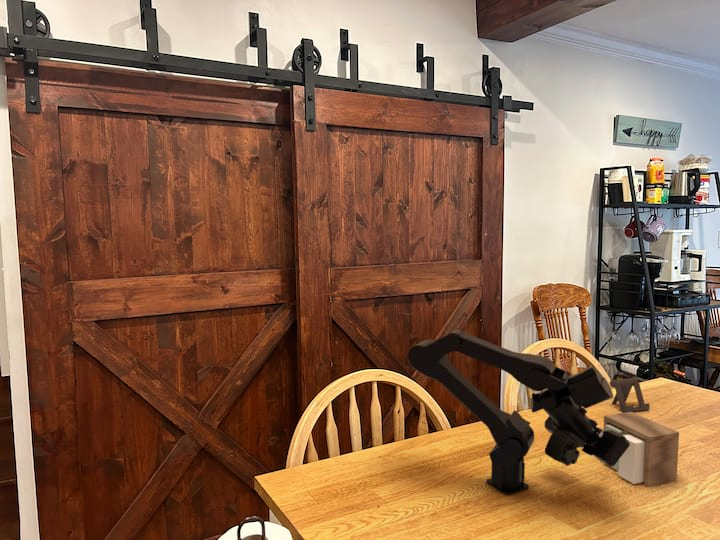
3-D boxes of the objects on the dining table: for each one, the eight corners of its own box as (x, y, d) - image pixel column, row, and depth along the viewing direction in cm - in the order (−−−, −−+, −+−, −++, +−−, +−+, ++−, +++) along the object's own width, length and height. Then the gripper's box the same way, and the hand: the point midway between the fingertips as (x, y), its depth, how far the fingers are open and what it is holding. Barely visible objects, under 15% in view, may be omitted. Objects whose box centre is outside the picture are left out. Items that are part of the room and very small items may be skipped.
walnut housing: (644, 487, 112) (646, 437, 111) (599, 461, 124) (600, 416, 123) (676, 480, 115) (679, 432, 114) (629, 455, 127) (631, 411, 126)
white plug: (633, 484, 113) (635, 443, 112) (618, 475, 117) (619, 435, 116) (676, 475, 116) (678, 436, 116) (660, 467, 120) (662, 428, 120)
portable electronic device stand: (624, 414, 154) (625, 386, 154) (605, 405, 162) (606, 378, 161) (649, 411, 157) (650, 383, 156) (629, 402, 164) (631, 376, 163)
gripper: (512, 425, 115) (551, 467, 120) (573, 462, 97) (616, 510, 102) (544, 387, 117) (581, 429, 122) (609, 416, 99) (650, 465, 104)
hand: (604, 457), depth 112 cm, fingers closed
